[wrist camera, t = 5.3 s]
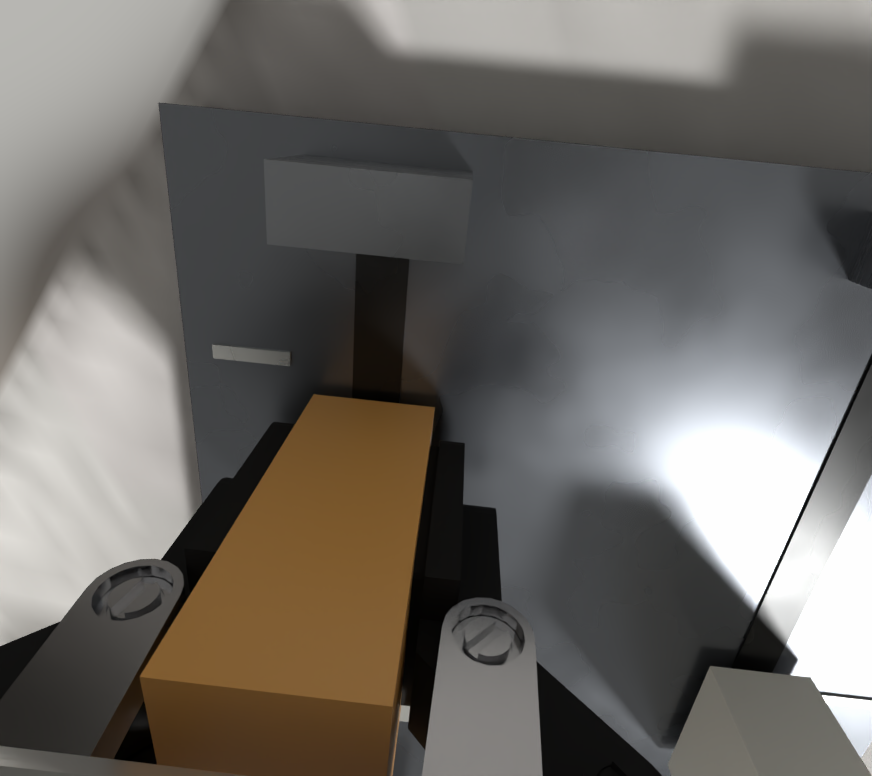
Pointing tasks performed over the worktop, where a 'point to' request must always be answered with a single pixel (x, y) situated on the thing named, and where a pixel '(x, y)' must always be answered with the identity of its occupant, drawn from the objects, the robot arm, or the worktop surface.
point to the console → (567, 378)
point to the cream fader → (762, 729)
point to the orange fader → (302, 607)
